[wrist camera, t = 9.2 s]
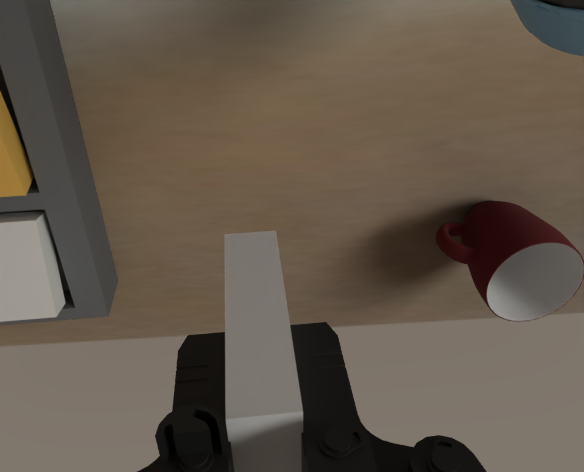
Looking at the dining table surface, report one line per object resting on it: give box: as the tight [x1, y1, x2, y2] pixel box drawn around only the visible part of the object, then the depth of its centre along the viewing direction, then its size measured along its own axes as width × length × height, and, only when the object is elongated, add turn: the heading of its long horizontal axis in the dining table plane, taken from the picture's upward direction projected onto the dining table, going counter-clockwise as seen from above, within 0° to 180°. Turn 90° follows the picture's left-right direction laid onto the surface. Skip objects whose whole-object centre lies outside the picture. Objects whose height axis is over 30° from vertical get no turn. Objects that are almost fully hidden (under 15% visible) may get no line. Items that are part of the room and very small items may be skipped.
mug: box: [436, 201, 584, 322], centre depth 47 cm, size 11×8×10 cm
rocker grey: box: [0, 211, 65, 322], centre depth 42 cm, size 8×5×2 cm, turn 1°
